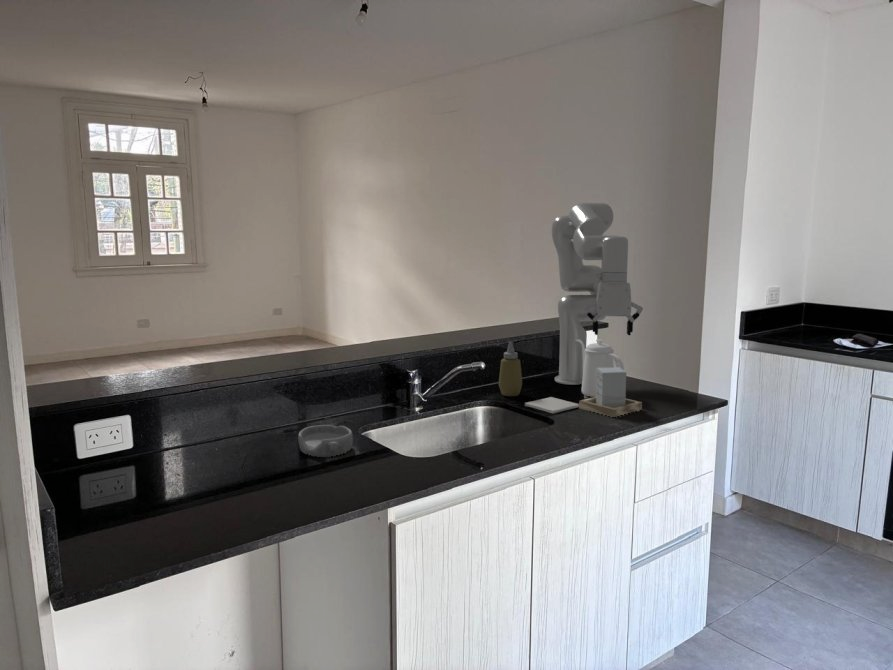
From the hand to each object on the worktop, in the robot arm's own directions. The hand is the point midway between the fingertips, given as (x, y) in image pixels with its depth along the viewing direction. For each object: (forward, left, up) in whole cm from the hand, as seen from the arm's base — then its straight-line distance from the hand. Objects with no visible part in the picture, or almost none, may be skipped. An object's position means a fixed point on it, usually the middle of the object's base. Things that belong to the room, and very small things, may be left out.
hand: (612, 334), depth 202 cm
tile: (+11, -14, -23) cm, 29 cm away
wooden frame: (0, 0, -23) cm, 23 cm away
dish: (+86, -22, -24) cm, 92 cm away
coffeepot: (-12, -15, -24) cm, 30 cm away
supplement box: (0, 0, -24) cm, 24 cm away
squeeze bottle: (+11, -33, -24) cm, 42 cm away
